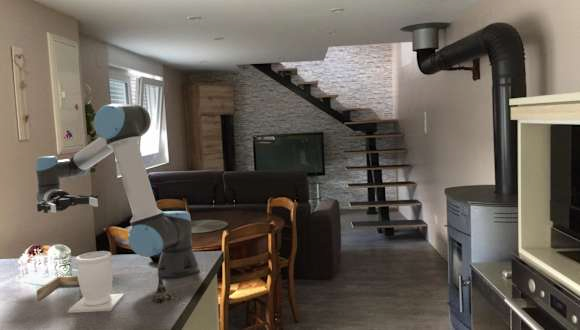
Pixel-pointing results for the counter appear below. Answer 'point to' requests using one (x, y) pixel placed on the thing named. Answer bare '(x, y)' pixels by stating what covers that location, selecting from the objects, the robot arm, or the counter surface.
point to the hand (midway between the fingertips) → (76, 205)
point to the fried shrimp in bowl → (155, 258)
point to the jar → (95, 277)
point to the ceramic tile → (102, 307)
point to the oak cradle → (55, 283)
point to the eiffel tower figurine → (163, 293)
